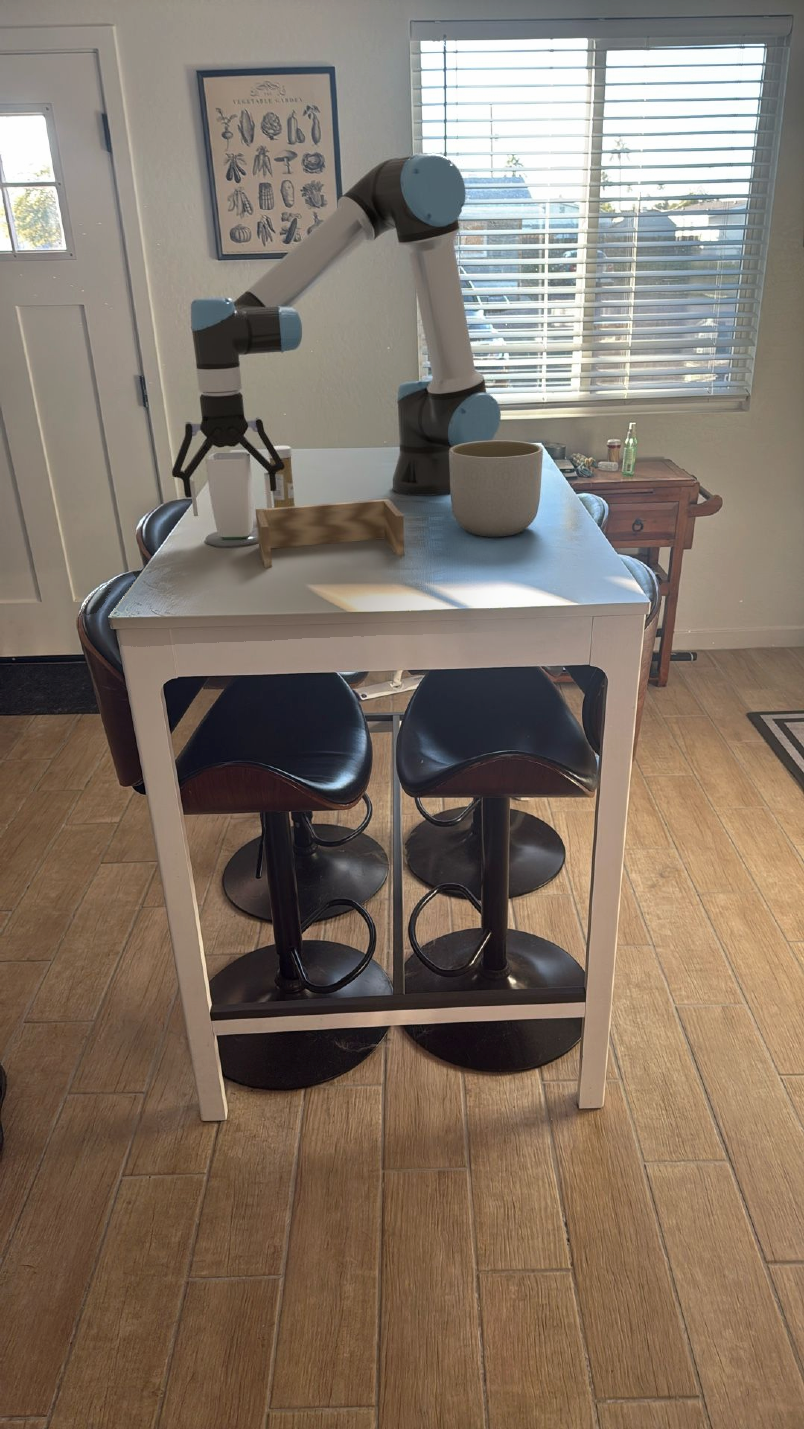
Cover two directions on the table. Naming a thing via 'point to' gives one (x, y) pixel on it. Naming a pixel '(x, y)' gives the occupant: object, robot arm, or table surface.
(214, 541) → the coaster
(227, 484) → the cup
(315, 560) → the table surface
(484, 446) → the planter
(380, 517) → the wooden stand
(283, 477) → the sprinkles bottle
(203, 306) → the robot arm
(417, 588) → the table surface
